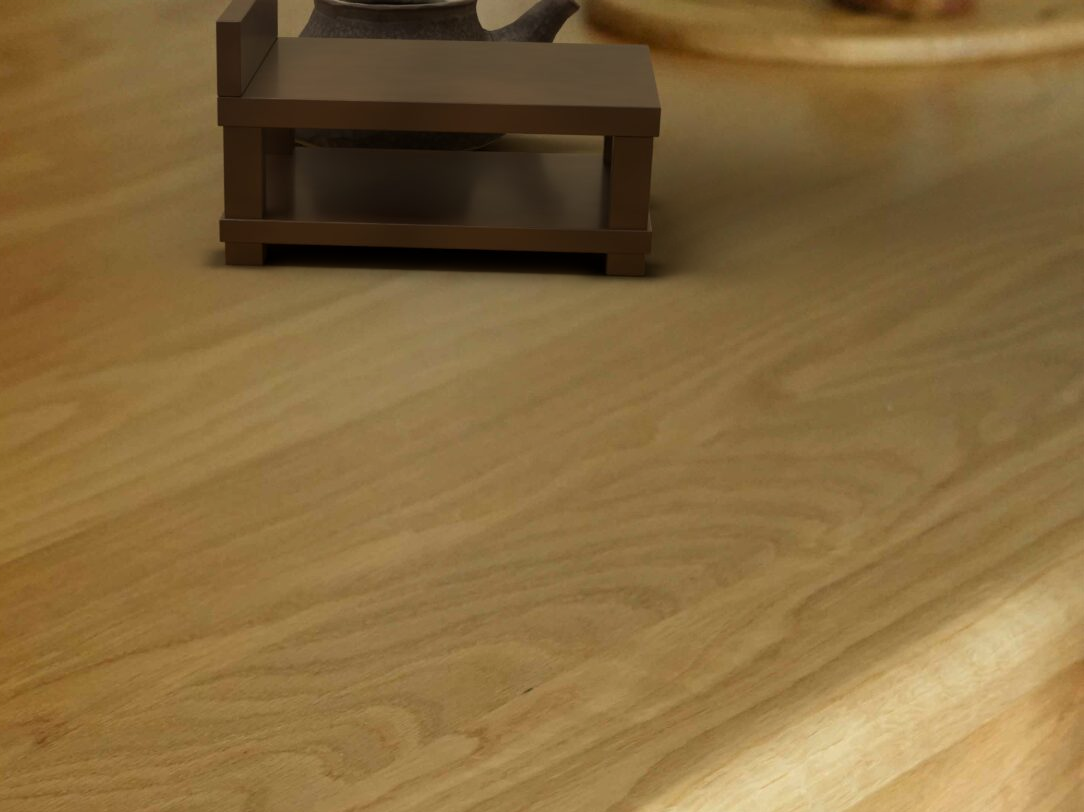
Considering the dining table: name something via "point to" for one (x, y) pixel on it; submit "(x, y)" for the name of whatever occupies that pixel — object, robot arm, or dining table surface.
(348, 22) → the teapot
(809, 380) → the dining table surface
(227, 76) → the rack
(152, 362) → the dining table surface
